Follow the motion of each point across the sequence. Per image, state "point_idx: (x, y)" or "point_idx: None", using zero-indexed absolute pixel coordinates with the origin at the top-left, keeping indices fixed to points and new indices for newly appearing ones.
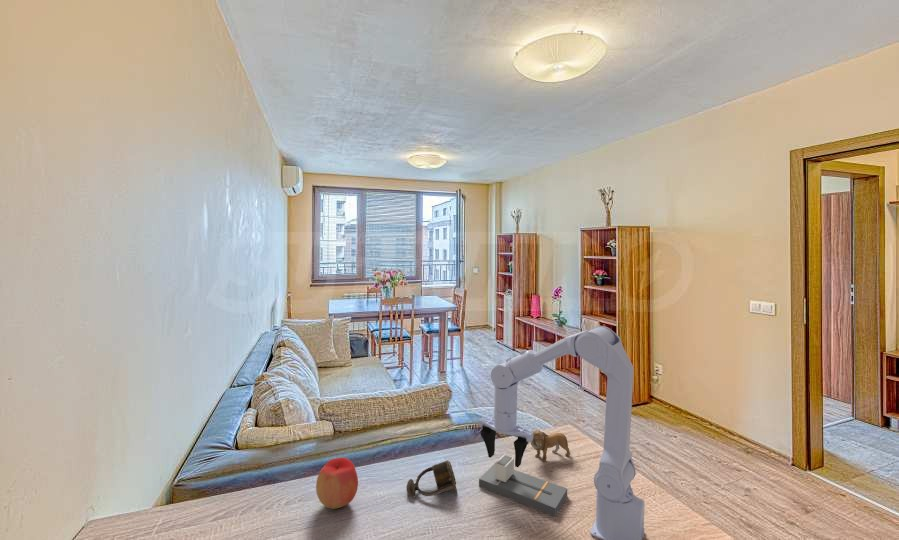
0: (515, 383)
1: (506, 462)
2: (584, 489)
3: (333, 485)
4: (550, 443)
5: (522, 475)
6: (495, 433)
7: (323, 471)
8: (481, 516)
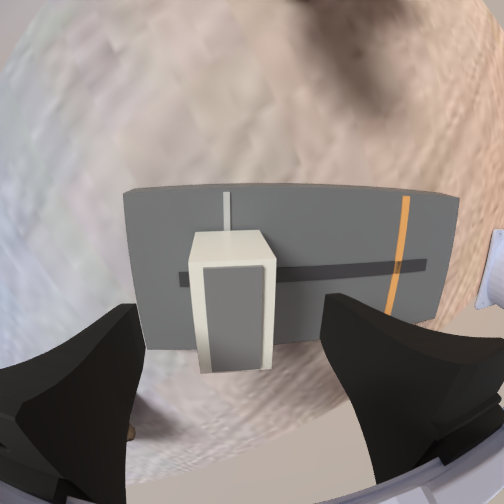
0: None
1: (257, 340)
2: (465, 128)
3: None
4: None
5: (301, 212)
6: (68, 388)
7: None
8: (247, 417)
